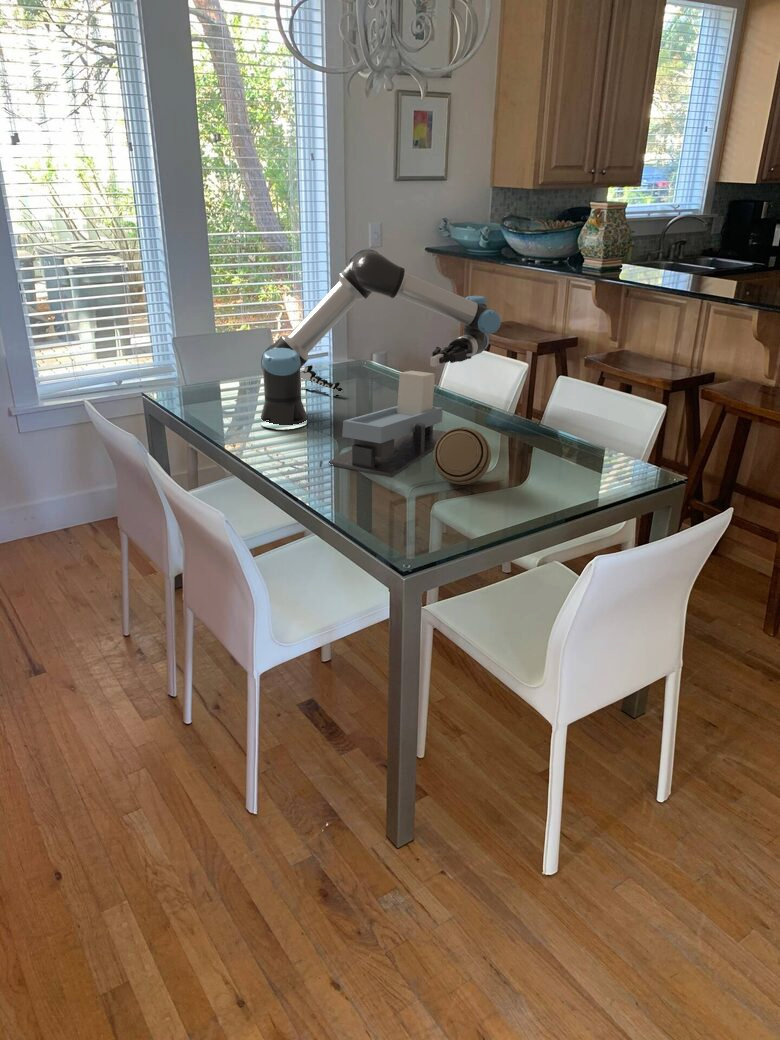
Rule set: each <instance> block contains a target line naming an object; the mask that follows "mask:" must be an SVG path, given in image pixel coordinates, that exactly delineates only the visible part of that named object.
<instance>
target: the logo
mask: <svg viewBox="0 0 780 1040" xmlns="http://www.w3.org/2000/svg"><path fill="white" fill-rule="evenodd" d="M313 368H314V366H313V364H311V365H306V366H305V368H304V370H302V371H300V378H303V379H306V380H308V381H311V382H314V383H317V384H319V385H322V386H324V387H328V388H331V389H334V390H337V391H341V390H343V388H342V387H339V386H340V383H341V382H339V381H338V382H334V383H332V382H328V380H327V379H325V378H324V379H323V378H322V377H321V376H319V375H317V373H316V372H315V371H313ZM335 388H336V389H335ZM343 391H344V390H343Z"/></svg>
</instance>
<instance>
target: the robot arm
mask: <svg viewBox="0 0 780 1040" xmlns="http://www.w3.org/2000/svg"><path fill="white" fill-rule="evenodd" d="M338 277H339V279H338V282H337V283H336V284H335V285H334V286H333V287H332V288H330V290H329V291H328V292H327V293H326V295H324V297H323V298H322V299H321V300H320V301H319V302H318V303H317V304H316V305H315V306H314V308H312V310H310V312H309V313H308V314H306V316H305V317H304V318H303V319H302V320H301V321H300V322H299V324H298V325H297V326H296V327H295V328H294V329H293V330H292V331H291V332H290V333H289V334H282V335H280V337H279V338H278V339H277V340H275V342H274V343H273V344H271V345H269V346H267V348H265V349H264V351H263V353H262V354H261V359H260V365H261V366H260V369H261V370H262V371H261V372H262V374H263V391H264V392H263V393H264V403H263V407H262V409H261V410H262V411H261V414H260V417H261V419H262V420H263V421H266V420H269V421H266V422H269V423H273V424H279V425H293V424H299V423H302V422H304V421H306V420H307V421H308V415H307V413H306V410H305V407H304V403H303V400H302V388H301V378H300V372H301V369H302V367H303V366H305V364H306V363H307V362H308V361H309V353H310V352H311V351H312V350H313V349H314V347H316V346H317V344H318V343H319V342H320V341H321V340H322V339H323V338H324V337H325V336H326V335H327V334H328V333H329V332H330V331H331V330H332V328H334V327H335V325H336V324H337V323H338V322H339V321H340V320H341V319H342V318H343V317H344V316H345V315H346V314H347V312H349V310H351V309H352V307H353V306H354V305H355V304H356V303H357V302H359V301H365V300H367V299H368V298H369V296H370V295H371V294H372V293H376V294H379V295H384V296H387V297H388V298H391V299H396V298H400V299H402V300H405V301H407V302H410V303H412V304H414V305H417V306H420V307H423V308H425V309H427V310H429V311H431V312H435V313H436V314H439V315H442V316H444V317H446V318H448V319H451V320H454V321H456V322H459V323H461V324H463V333H462V336H460V337H457V338H455V339H453V340H451V342H450V343H449V345H448V346H445V347H444V348H443V349H442V347H440V346H436V347H435V350H434V351H432V354H431V355H432V356H430V363H429V367H433V368H434V367H435V368H436V367H437V366H439V365H441V364H444V363H446V364H447V363H450V364H453V363H457V362H458V363H459V362H461V363H462V362H464V361H467V360H470V359H472V357H474V356H476V355H479V354H481V353H482V352H484V351H485V350H486V349H487V348H488V346H489V343H490V338H489V335H492V334H494V333H496V332H498V330H499V329H500V327H501V323H502V319H501V316H500V315H499V313H498V311H496V310H494V309H491V308H489V307H488V304H487V303H488V300H487V297H485V296H482V295H468V296H466V297H463V296H461V295H459V294H456V293H454V292H451V291H450V290H446V289H445V288H442V287H440V286H438V285H435V284H433V283H431V282H428V281H426V280H423V279H421V278H419V277H416V276H415V275H412V274H409V273H407V270H406V269H405V268H404V267H402V266H400V265H398V264H396V263H394V262H392V261H391V260H389V259H388V258H387V257H385V256H384V255H383V254H381V253H379V252H378V251H376V250H375V249H374V250H373V249H367V248H365V249H360V250H358V251H356V252H355V253H354V254H353V255H352V256H351V257H350V259H349V261H348V264H347V265H346V266H345V267H344V268H343V269H342V270H341V271H340V272H339V275H338Z"/></svg>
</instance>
